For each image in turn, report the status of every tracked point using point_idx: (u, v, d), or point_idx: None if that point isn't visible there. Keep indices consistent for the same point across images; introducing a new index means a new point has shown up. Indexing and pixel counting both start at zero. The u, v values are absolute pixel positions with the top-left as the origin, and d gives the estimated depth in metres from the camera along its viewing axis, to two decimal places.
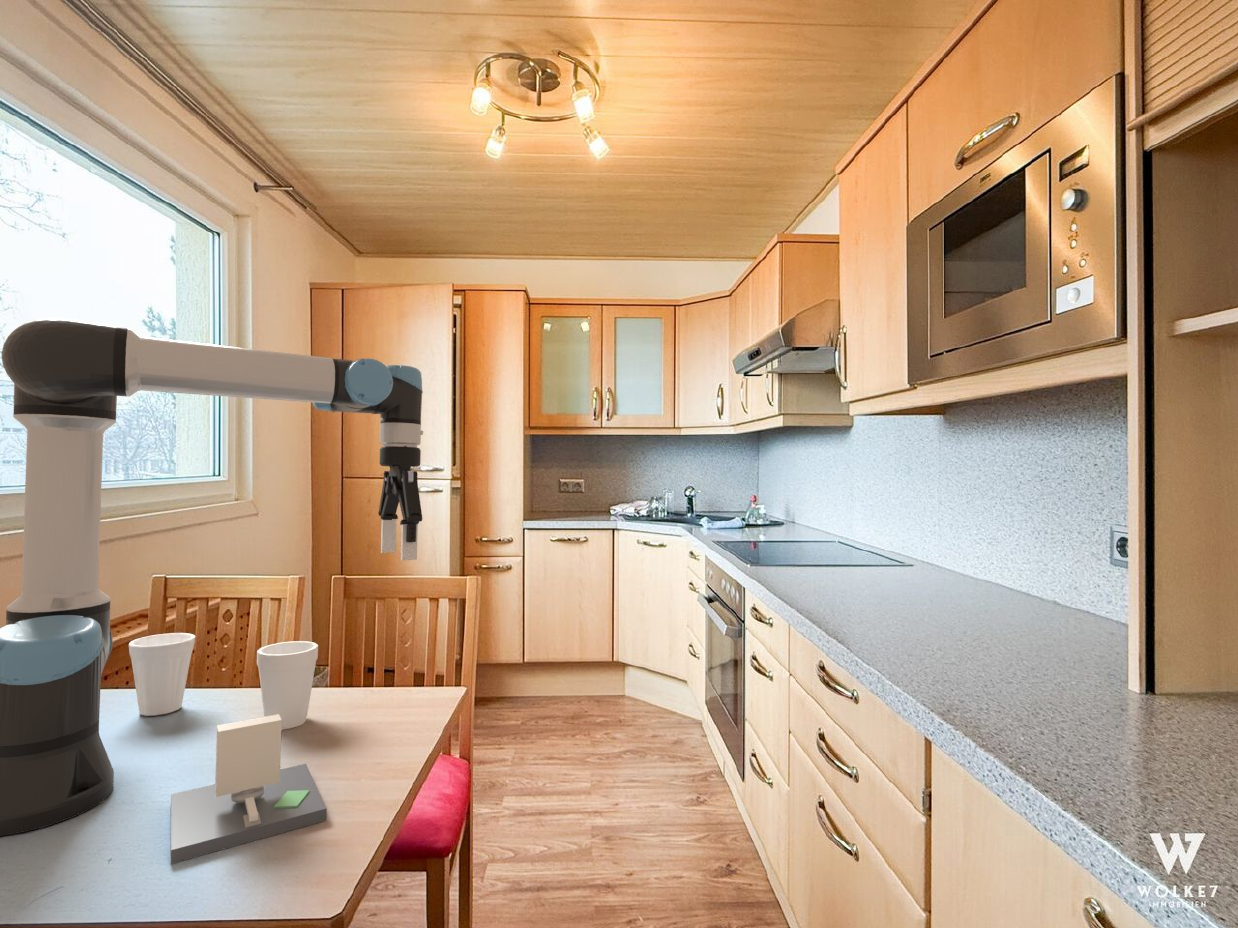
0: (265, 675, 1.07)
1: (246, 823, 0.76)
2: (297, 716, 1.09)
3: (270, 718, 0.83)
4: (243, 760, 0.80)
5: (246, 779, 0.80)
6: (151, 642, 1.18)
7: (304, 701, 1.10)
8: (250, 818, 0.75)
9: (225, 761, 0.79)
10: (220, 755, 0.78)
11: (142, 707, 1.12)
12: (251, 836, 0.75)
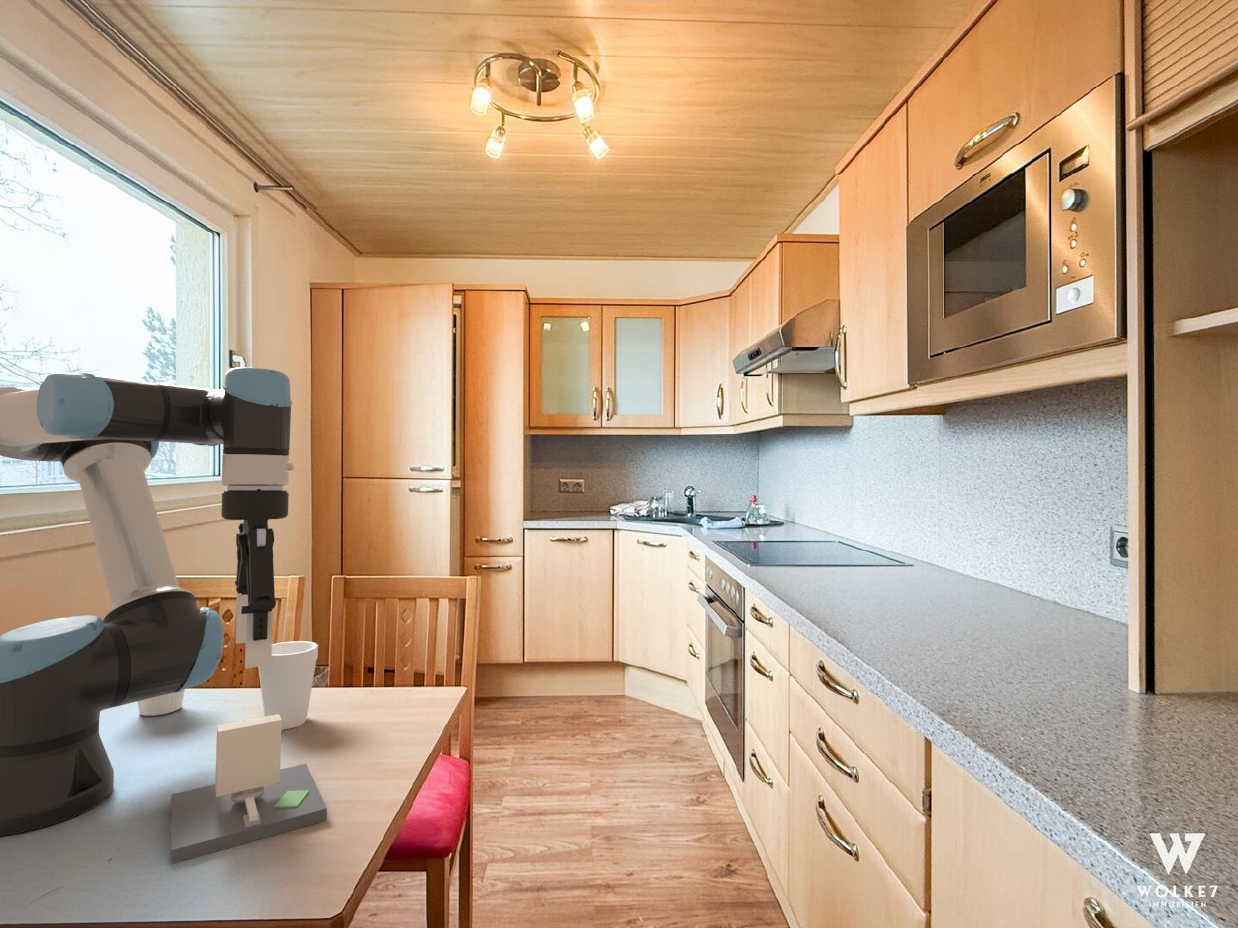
0: (265, 675, 1.07)
1: (246, 823, 0.76)
2: (297, 716, 1.09)
3: (270, 718, 0.83)
4: (243, 760, 0.80)
5: (246, 779, 0.80)
6: None
7: (304, 701, 1.10)
8: (250, 818, 0.75)
9: (225, 761, 0.79)
10: (220, 755, 0.78)
11: (142, 707, 1.12)
12: (251, 836, 0.75)
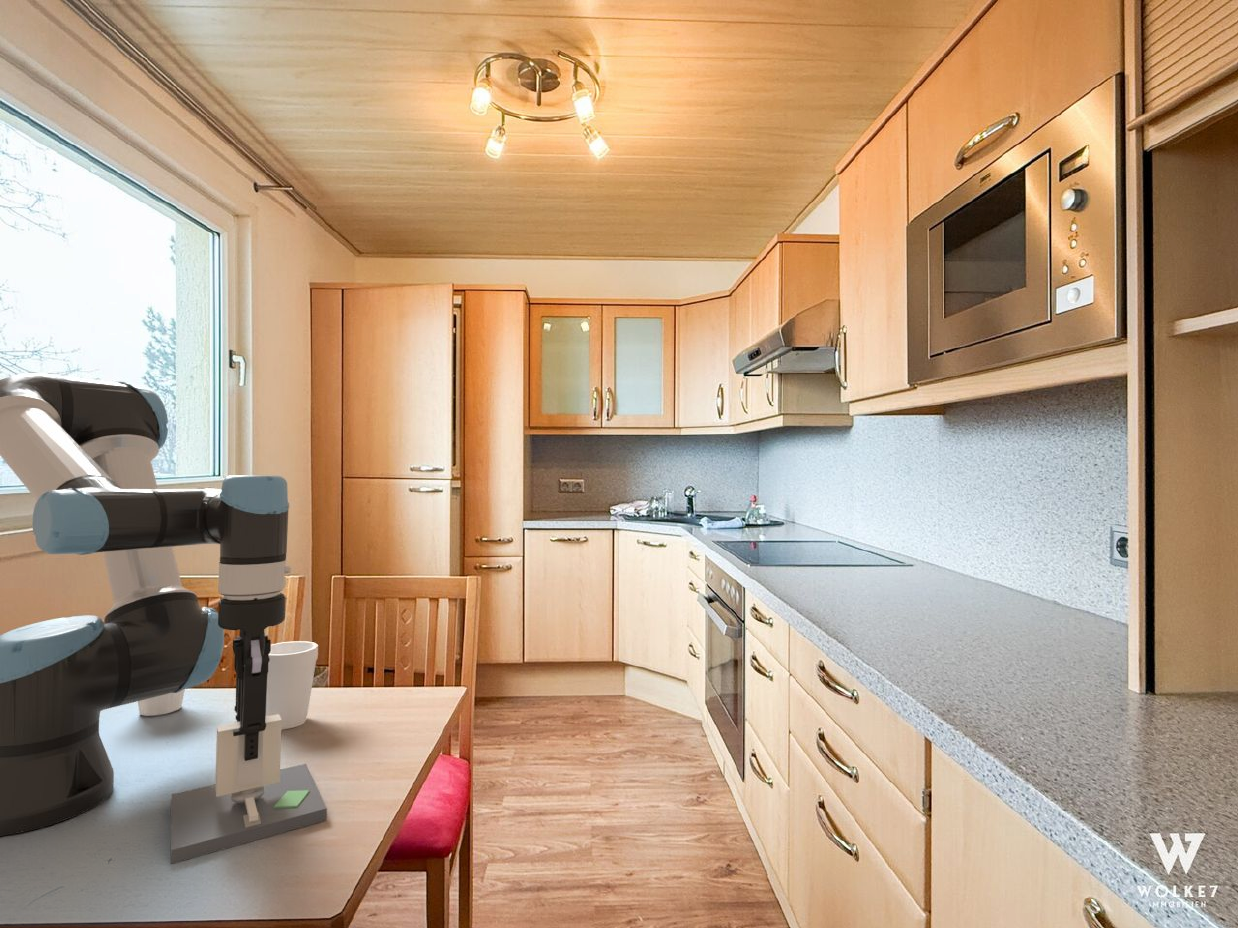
0: None
1: (246, 823, 0.76)
2: (297, 716, 1.09)
3: (270, 718, 0.83)
4: None
5: None
6: None
7: (304, 701, 1.10)
8: (250, 818, 0.75)
9: (225, 761, 0.79)
10: (220, 755, 0.78)
11: (142, 707, 1.12)
12: (251, 836, 0.75)
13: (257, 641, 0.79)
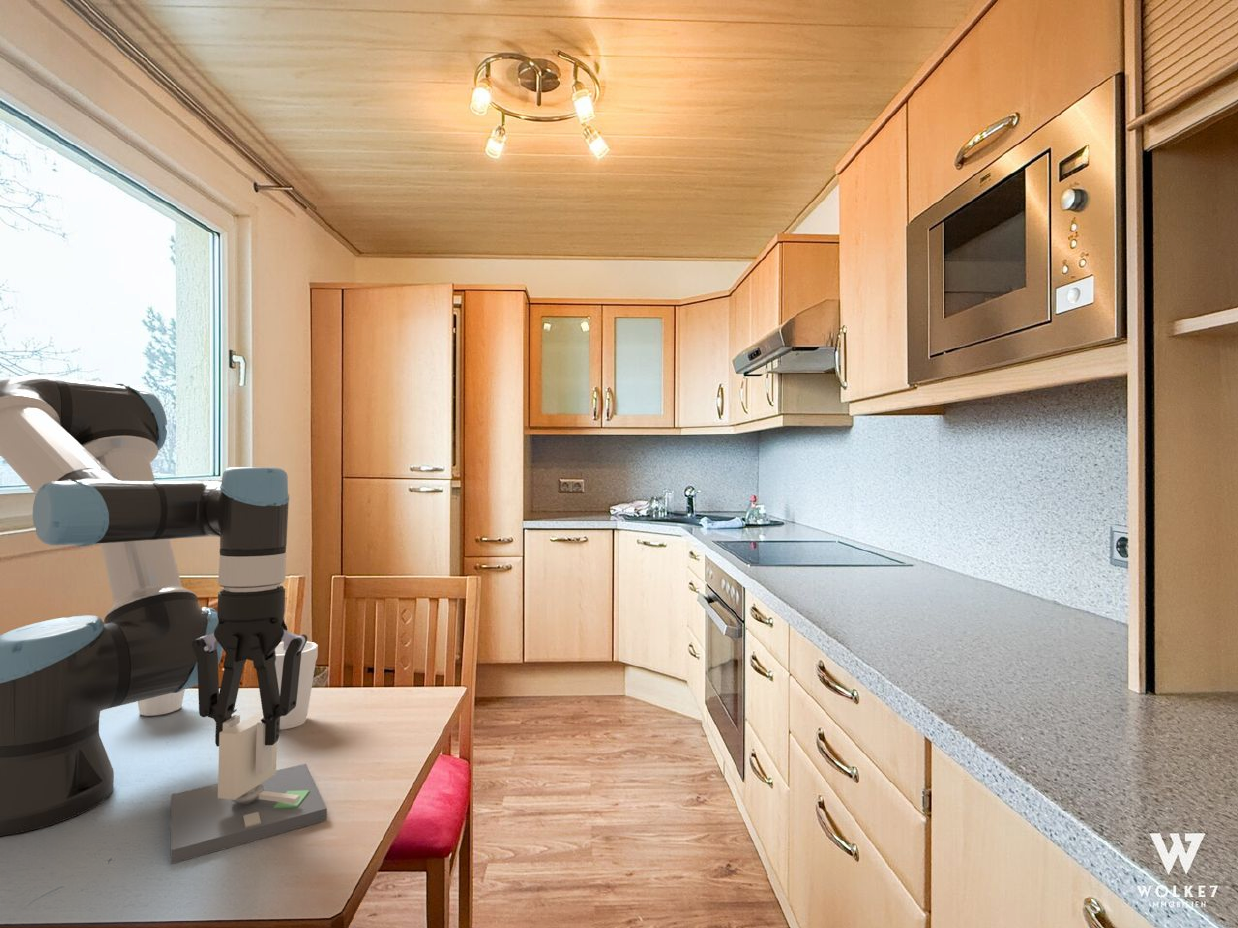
0: None
1: (246, 823, 0.76)
2: (297, 716, 1.09)
3: (262, 715, 0.84)
4: (252, 758, 0.80)
5: (254, 777, 0.81)
6: None
7: (304, 701, 1.10)
8: (295, 800, 0.79)
9: (240, 762, 0.78)
10: (237, 757, 0.78)
11: (142, 707, 1.12)
12: (251, 836, 0.75)
13: (281, 627, 0.82)
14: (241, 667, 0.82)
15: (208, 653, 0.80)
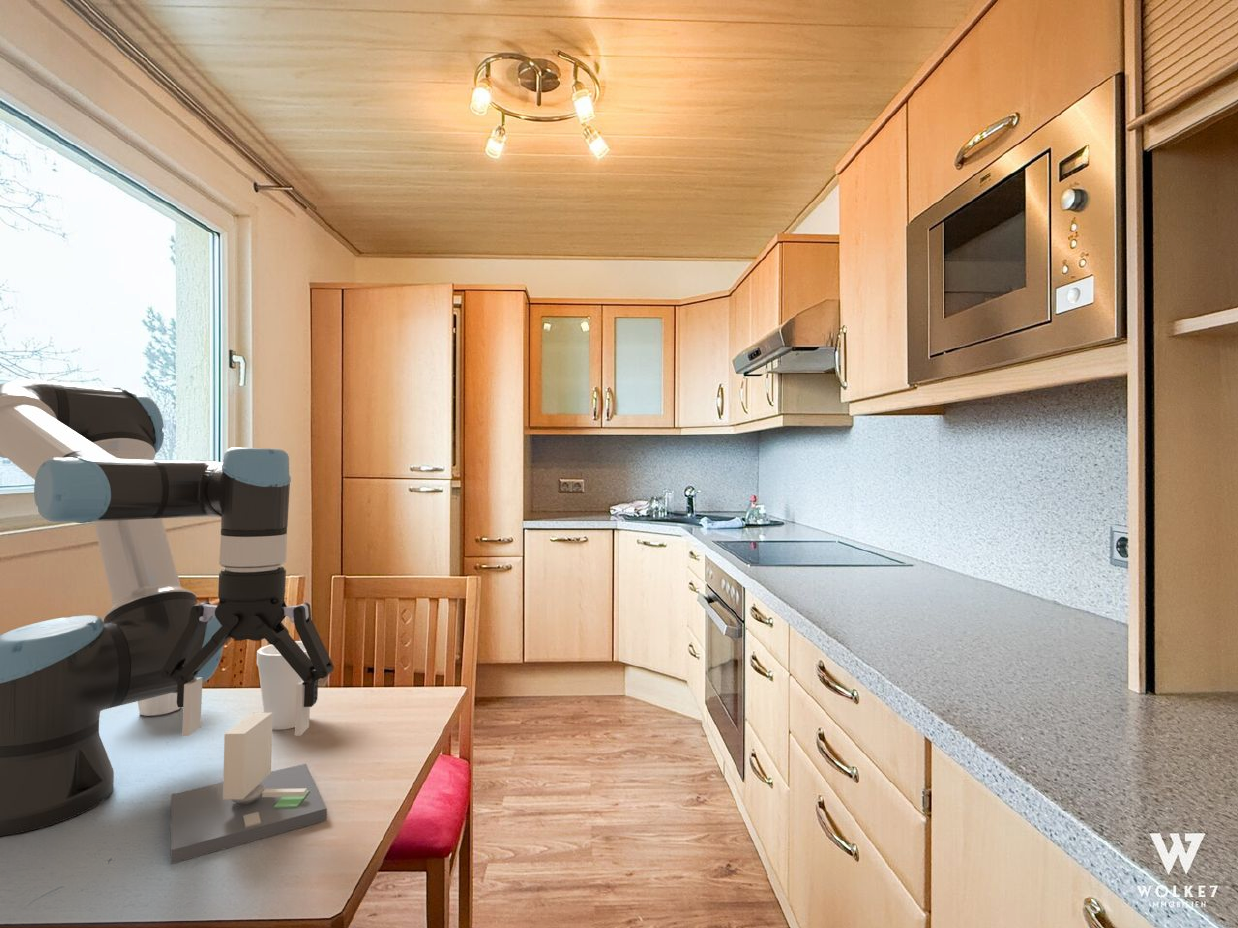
0: (265, 675, 1.07)
1: (246, 823, 0.76)
2: None
3: (258, 715, 0.84)
4: (255, 757, 0.81)
5: (256, 776, 0.81)
6: None
7: None
8: (304, 793, 0.81)
9: (247, 762, 0.79)
10: (245, 757, 0.78)
11: (142, 707, 1.12)
12: (251, 836, 0.75)
13: None
14: (225, 642, 0.82)
15: (200, 623, 0.80)
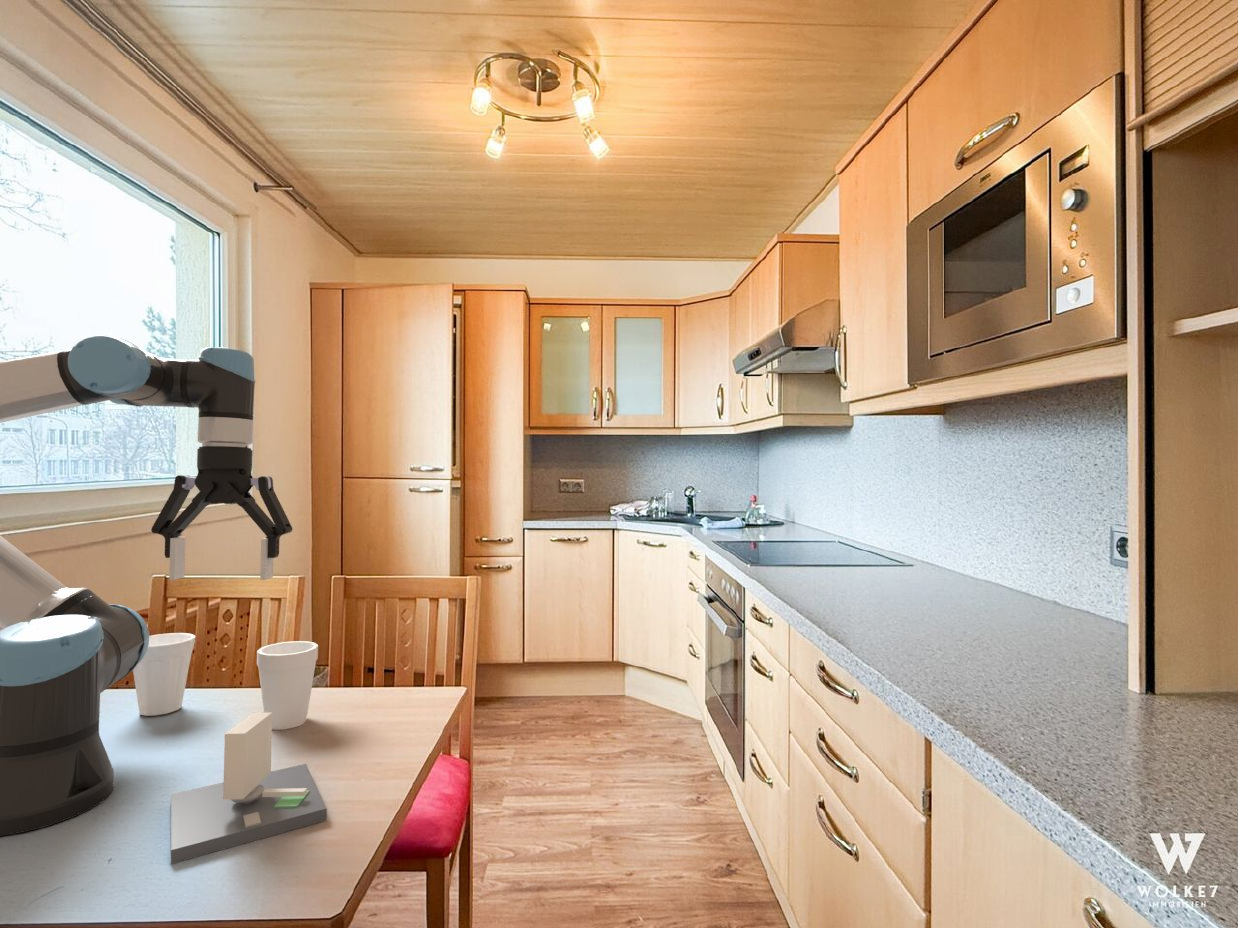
0: (265, 675, 1.07)
1: (246, 823, 0.76)
2: (297, 716, 1.09)
3: (258, 715, 0.84)
4: (255, 757, 0.81)
5: (256, 776, 0.81)
6: (151, 642, 1.18)
7: (304, 701, 1.10)
8: (304, 792, 0.81)
9: (247, 761, 0.79)
10: (245, 757, 0.78)
11: (142, 707, 1.12)
12: (251, 836, 0.75)
13: None
14: (203, 507, 1.02)
15: (183, 490, 1.00)
